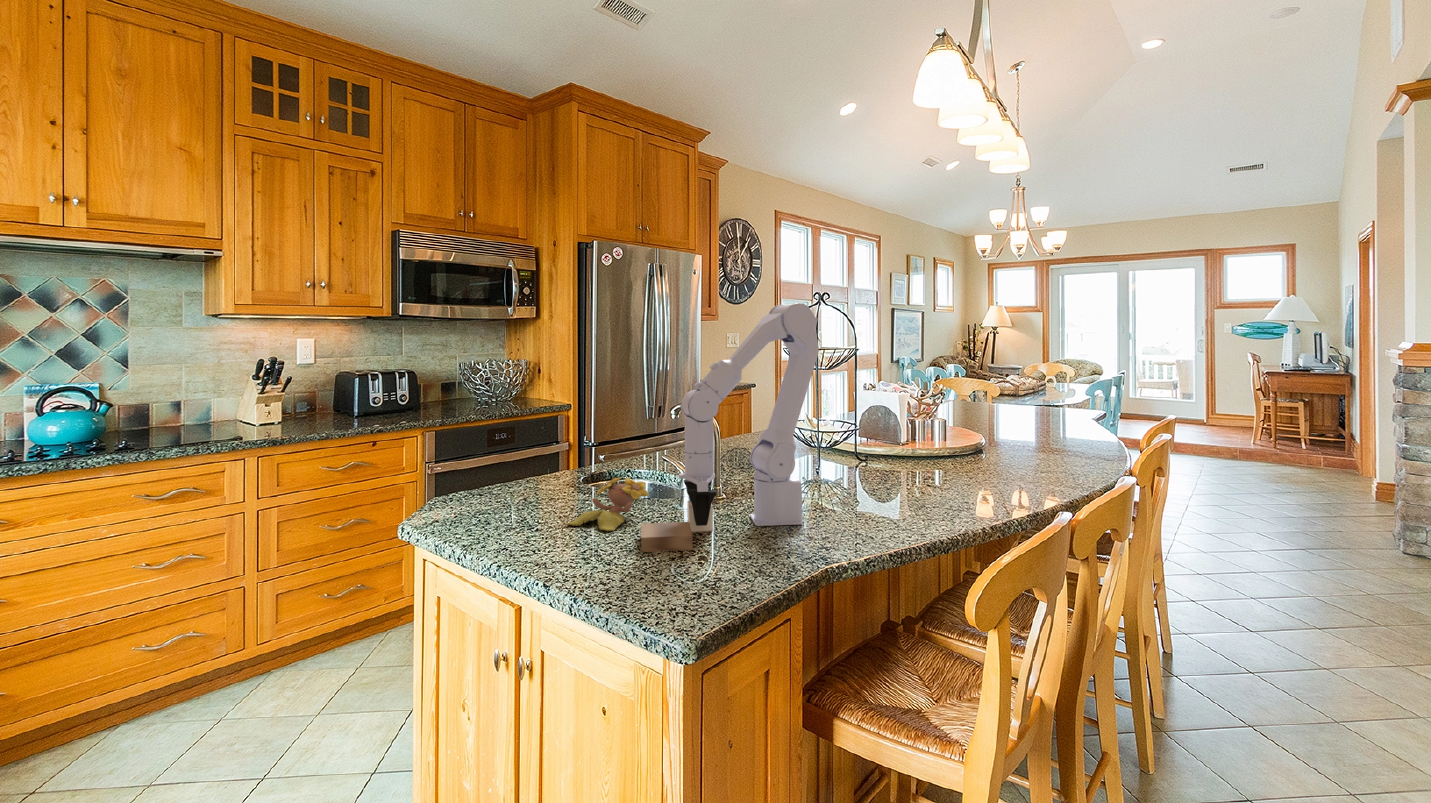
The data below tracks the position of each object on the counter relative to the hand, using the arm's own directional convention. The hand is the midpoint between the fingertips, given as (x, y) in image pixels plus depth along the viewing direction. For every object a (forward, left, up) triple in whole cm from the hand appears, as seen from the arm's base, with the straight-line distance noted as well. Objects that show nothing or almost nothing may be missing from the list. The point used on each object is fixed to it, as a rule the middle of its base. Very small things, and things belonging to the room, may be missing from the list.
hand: (699, 519), depth 135 cm
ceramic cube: (0, 0, -2) cm, 2 cm away
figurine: (+18, -8, -2) cm, 20 cm away
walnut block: (+7, +9, -2) cm, 12 cm away
